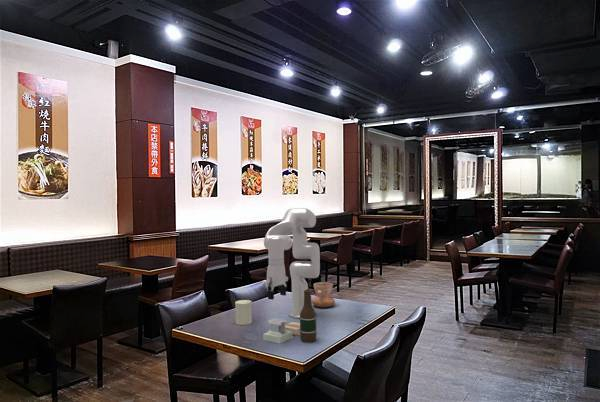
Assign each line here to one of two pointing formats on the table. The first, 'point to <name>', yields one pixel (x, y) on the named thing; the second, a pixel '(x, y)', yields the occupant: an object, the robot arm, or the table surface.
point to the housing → (277, 326)
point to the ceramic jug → (323, 295)
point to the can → (243, 312)
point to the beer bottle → (307, 319)
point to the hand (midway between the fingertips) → (277, 297)
